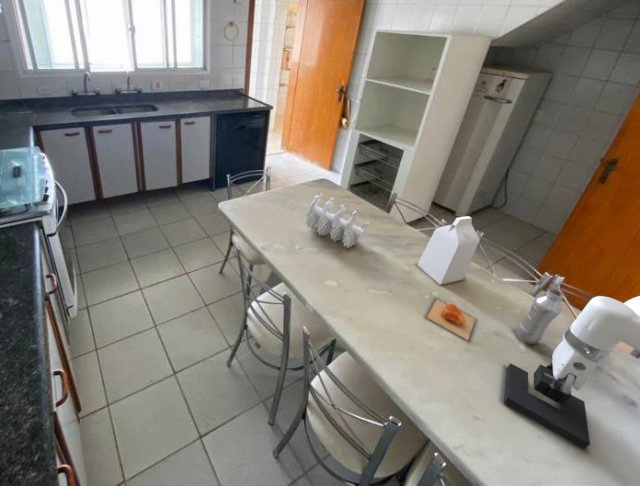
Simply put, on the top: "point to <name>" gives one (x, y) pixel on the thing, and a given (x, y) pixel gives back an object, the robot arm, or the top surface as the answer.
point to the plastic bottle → (540, 316)
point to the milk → (450, 251)
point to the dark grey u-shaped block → (547, 409)
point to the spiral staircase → (334, 222)
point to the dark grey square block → (547, 381)
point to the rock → (451, 318)
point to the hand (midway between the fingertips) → (548, 387)
